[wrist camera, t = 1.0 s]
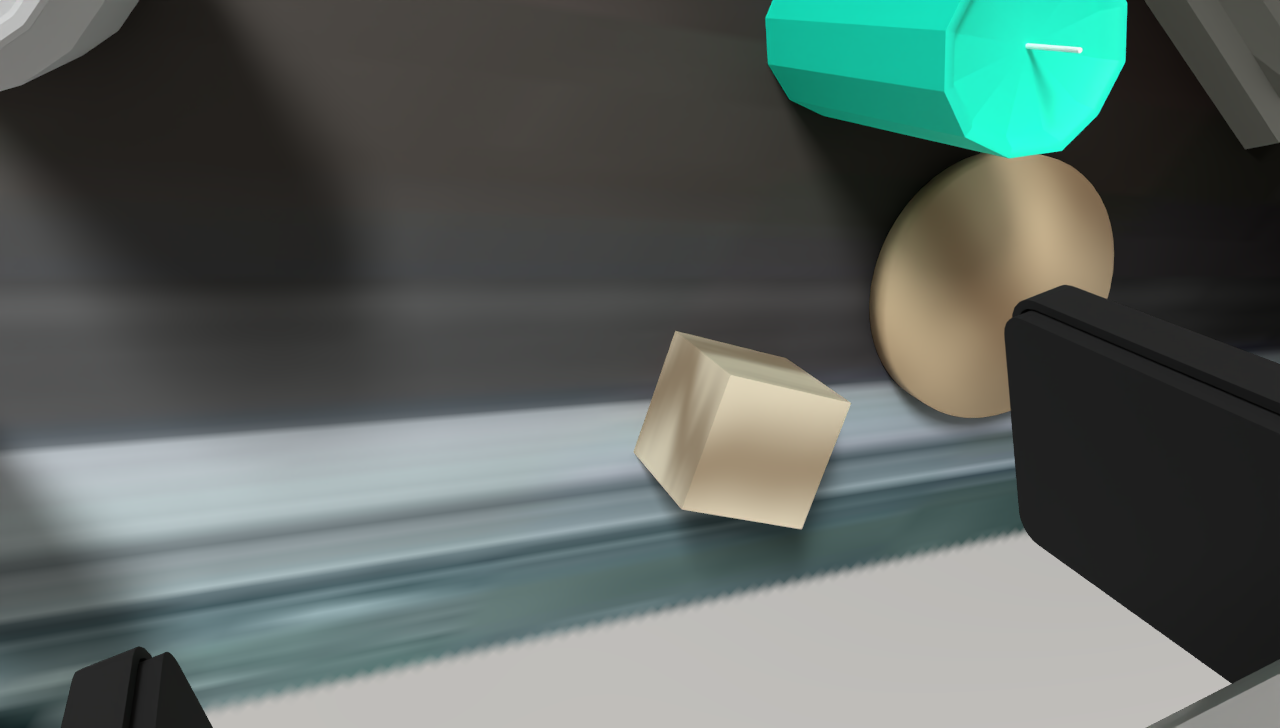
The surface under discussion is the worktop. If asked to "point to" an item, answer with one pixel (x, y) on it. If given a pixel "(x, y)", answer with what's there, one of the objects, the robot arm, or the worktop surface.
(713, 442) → the maple cube
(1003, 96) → the candle
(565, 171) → the worktop surface
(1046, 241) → the disc
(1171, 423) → the robot arm
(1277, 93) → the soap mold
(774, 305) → the worktop surface
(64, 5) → the can
